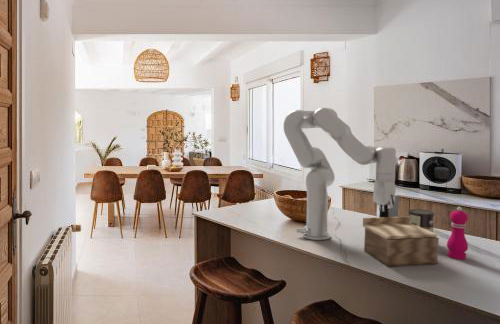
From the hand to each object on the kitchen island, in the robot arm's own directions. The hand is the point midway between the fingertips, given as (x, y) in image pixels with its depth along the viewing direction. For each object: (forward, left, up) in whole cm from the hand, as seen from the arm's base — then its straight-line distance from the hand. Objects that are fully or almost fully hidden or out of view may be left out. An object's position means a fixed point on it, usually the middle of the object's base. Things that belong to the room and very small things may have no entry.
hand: (383, 220), depth 158 cm
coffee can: (+20, +4, -12) cm, 23 cm away
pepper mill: (+23, -15, -12) cm, 30 cm away
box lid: (0, -11, -2) cm, 11 cm away
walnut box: (0, -12, -12) cm, 17 cm away
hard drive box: (+13, +20, -12) cm, 26 cm away
